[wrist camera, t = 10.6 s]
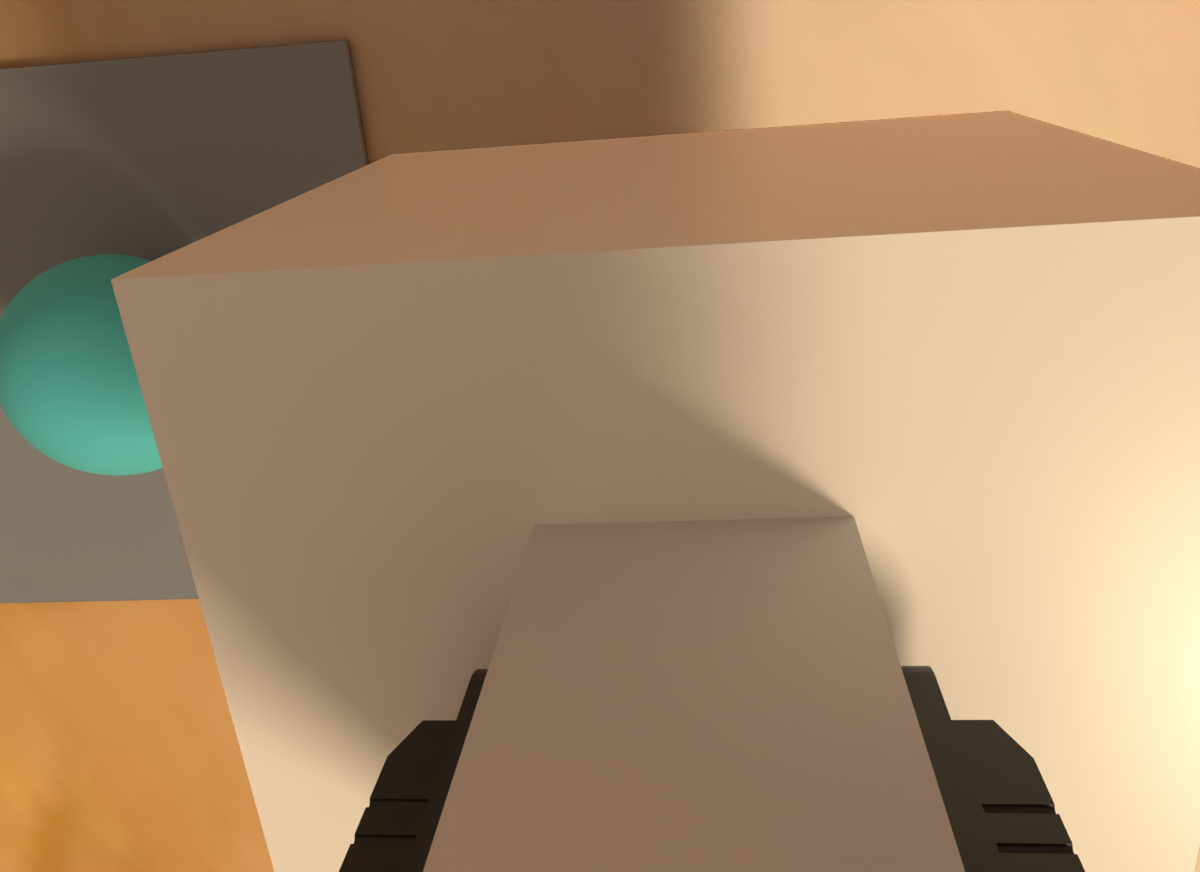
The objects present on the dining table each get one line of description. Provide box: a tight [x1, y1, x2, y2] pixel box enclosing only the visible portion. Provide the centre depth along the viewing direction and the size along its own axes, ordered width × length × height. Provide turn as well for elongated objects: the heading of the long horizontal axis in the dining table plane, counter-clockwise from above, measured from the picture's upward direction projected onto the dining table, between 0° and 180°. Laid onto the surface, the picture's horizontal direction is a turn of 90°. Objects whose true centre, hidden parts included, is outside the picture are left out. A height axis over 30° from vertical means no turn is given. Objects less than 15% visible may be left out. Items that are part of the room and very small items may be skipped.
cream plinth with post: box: [111, 111, 1200, 872], centre depth 12 cm, size 10×10×14 cm
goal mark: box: [0, 40, 368, 603], centre depth 25 cm, size 14×14×1 cm
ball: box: [0, 254, 163, 476], centre depth 22 cm, size 5×5×5 cm
